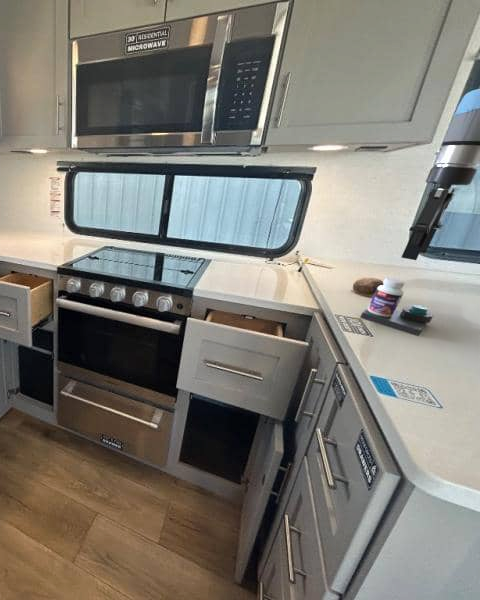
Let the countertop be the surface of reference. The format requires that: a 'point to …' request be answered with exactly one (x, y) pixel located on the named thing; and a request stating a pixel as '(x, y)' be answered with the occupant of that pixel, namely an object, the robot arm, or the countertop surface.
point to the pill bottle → (386, 297)
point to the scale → (401, 320)
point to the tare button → (419, 309)
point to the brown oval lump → (367, 286)
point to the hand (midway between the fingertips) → (413, 255)
